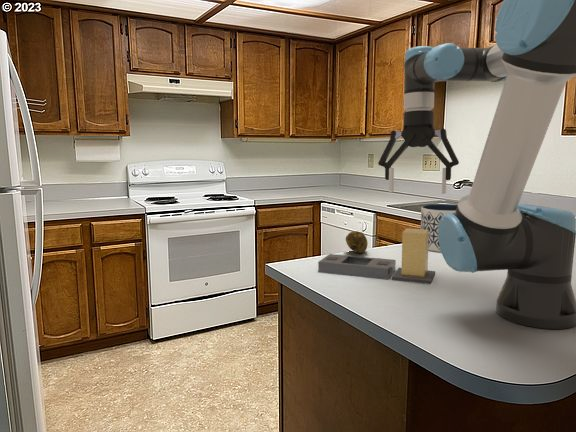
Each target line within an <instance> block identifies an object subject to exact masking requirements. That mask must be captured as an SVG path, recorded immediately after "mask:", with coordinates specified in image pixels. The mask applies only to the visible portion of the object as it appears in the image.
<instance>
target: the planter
mask: <svg viewBox="0 0 576 432" xmlns="http://www.w3.org/2000/svg"><path fill="white" fill-rule="evenodd" d="M457 205H458V204H451V203H450V204H449V203H435V204H434V203H433V204H424V205H422V206H421V207H420V210H421V211H420V215H421V216H420V229H425V230H429V241H428V252H429V251H430V252H434V253H435V252H436V253H441V250H440V245H439V240H438V225H439V222H440V219H441V218H442V217H443V216H445V215H446V214H448V213H451V214H454V213H455V212H456V208H457Z"/></svg>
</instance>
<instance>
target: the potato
mask: <svg viewBox="0 0 576 432" xmlns="http://www.w3.org/2000/svg"><path fill="white" fill-rule="evenodd" d="M345 242H346V245H347V247H348V248H349V249H350V250H352V251H353V252H355V253H357V254H363V253H365V252H366V250H367V248H368V244H369V243H368V239H367V237H366V235H365V234H364V233H363V232H361V231H355V230H354V231H350V232H349V233H348V234H347V235H346V236H345Z"/></svg>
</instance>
